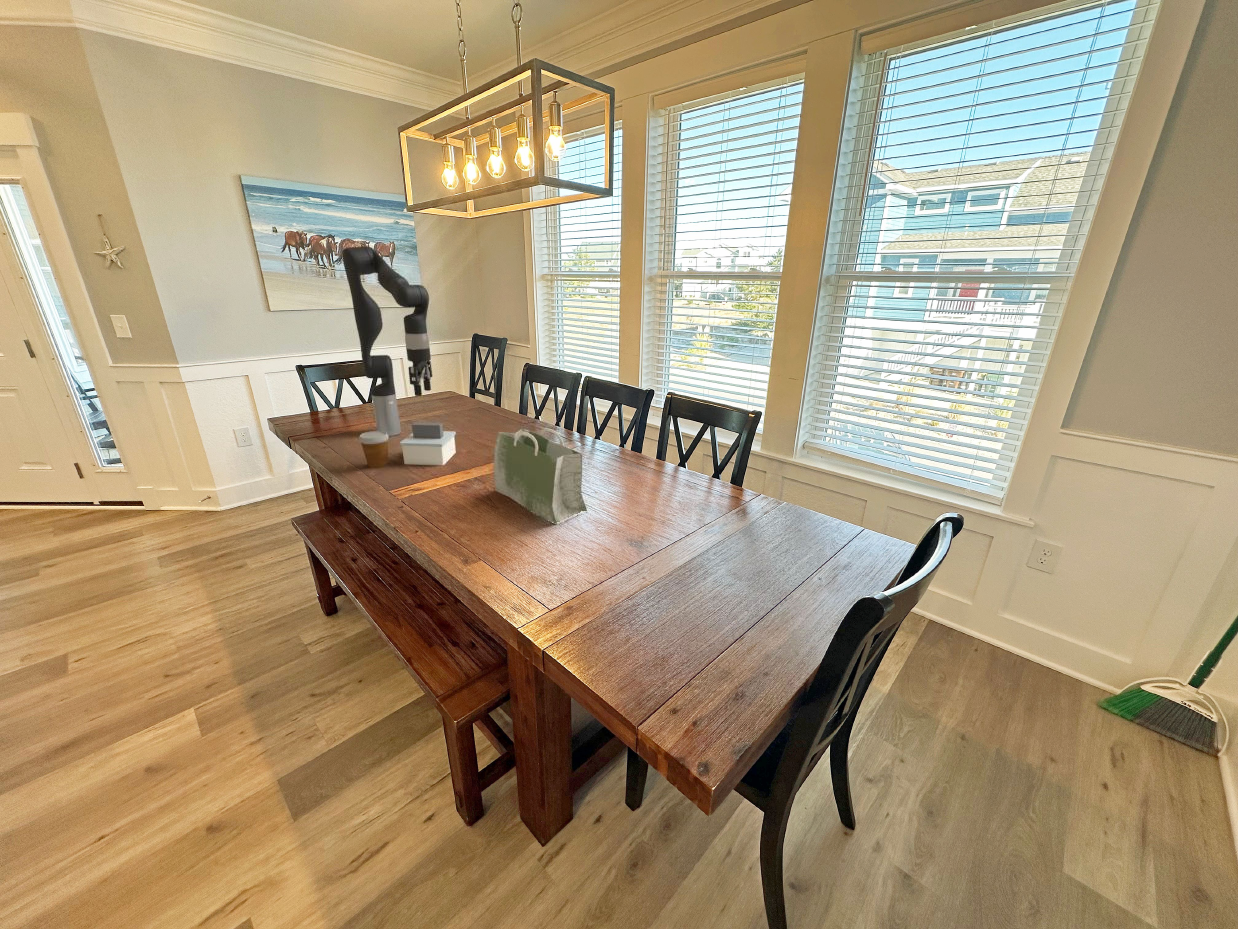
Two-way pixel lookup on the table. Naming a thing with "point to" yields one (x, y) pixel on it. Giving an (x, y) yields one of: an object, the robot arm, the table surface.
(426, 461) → the storage box
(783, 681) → the table surface
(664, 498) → the table surface
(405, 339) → the robot arm
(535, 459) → the grocery bag
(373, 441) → the disposable coffee cup
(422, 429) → the box lid
